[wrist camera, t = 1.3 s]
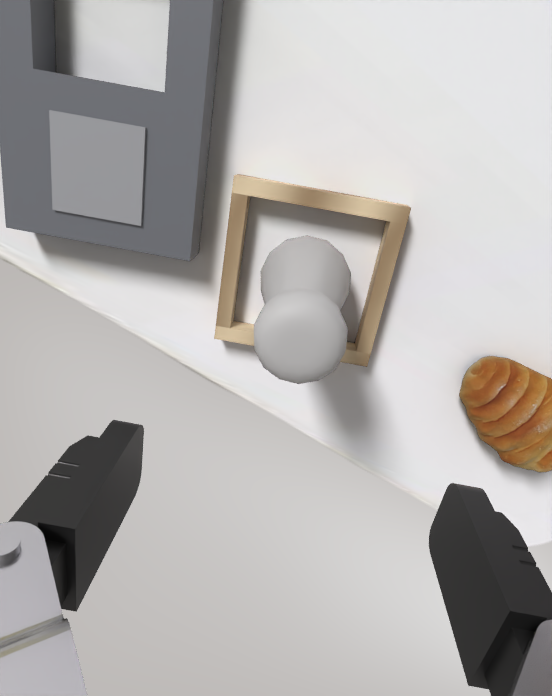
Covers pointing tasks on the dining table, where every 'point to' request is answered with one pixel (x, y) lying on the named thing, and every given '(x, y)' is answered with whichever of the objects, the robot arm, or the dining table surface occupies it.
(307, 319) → the salt shaker
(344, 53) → the dining table surface
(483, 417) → the pastry
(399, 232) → the wooden square frame
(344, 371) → the dining table surface
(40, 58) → the grey rectangular frame
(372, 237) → the dining table surface
